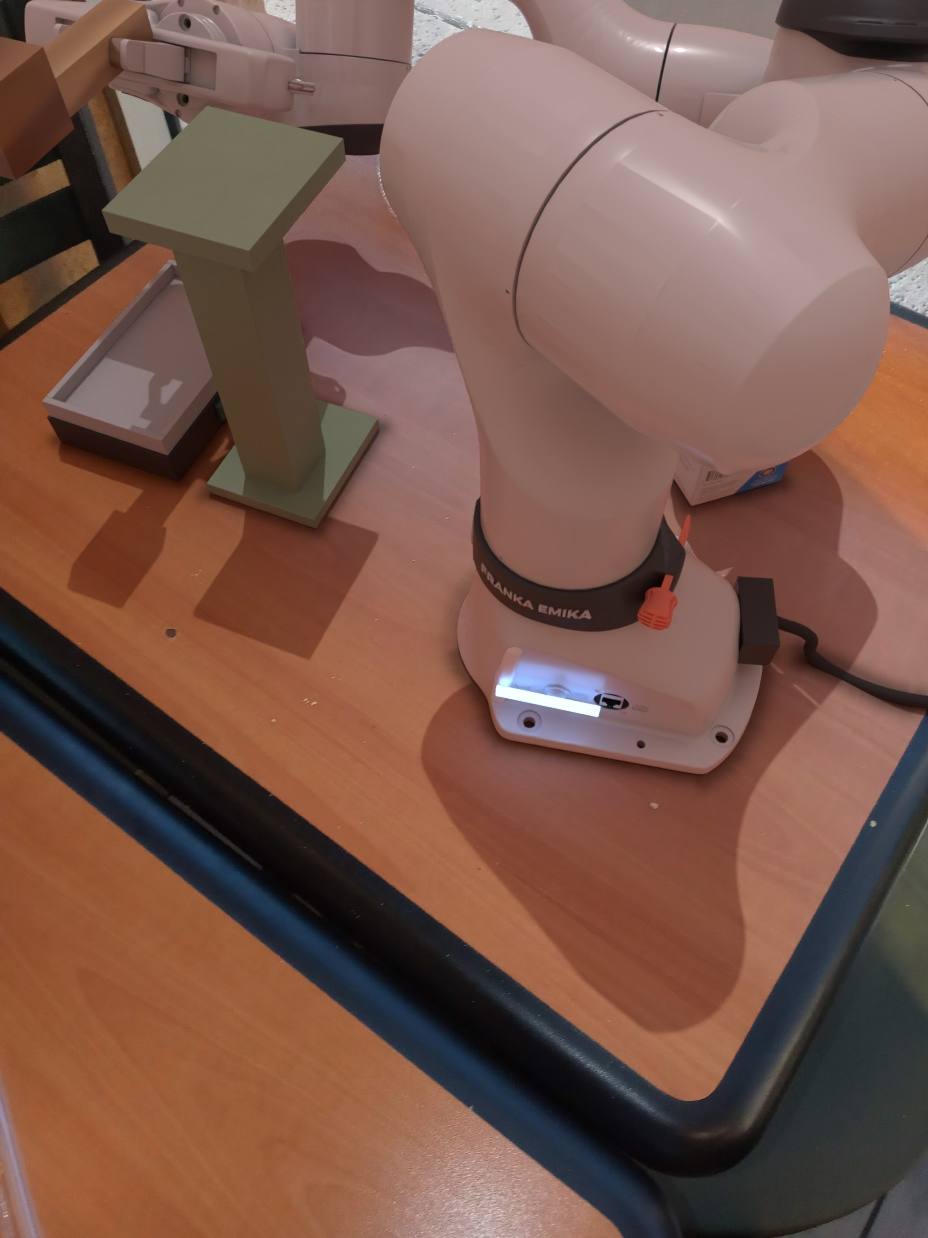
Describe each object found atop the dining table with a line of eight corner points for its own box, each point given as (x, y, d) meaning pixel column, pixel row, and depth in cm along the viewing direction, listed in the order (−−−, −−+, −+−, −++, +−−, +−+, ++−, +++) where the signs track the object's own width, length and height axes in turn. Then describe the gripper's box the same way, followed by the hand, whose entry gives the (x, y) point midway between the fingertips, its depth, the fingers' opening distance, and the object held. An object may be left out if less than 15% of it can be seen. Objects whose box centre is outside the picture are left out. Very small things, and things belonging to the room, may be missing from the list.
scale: (295, 332, 86) (286, 289, 82) (182, 483, 76) (166, 444, 72) (182, 299, 88) (168, 256, 84) (60, 441, 79) (37, 401, 75)
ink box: (753, 441, 78) (806, 301, 66) (781, 483, 76) (842, 346, 63) (663, 466, 77) (699, 327, 64) (688, 509, 74) (732, 374, 62)
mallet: (168, 44, 63) (146, -37, 59) (16, 180, 55) (-22, 97, 51) (107, 31, 64) (81, -50, 60) (-50, 162, 56) (-93, 79, 52)
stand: (379, 427, 79) (343, 137, 57) (316, 529, 74) (248, 250, 52) (278, 396, 82) (206, 105, 59) (209, 492, 76) (101, 210, 54)
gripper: (321, 137, 71) (222, 132, 60) (103, 84, 76) (-30, 70, 64) (330, 43, 68) (227, 19, 56) (101, -6, 72) (-38, -38, 61)
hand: (88, 46), depth 60 cm, fingers closed on mallet, 3 cm apart
